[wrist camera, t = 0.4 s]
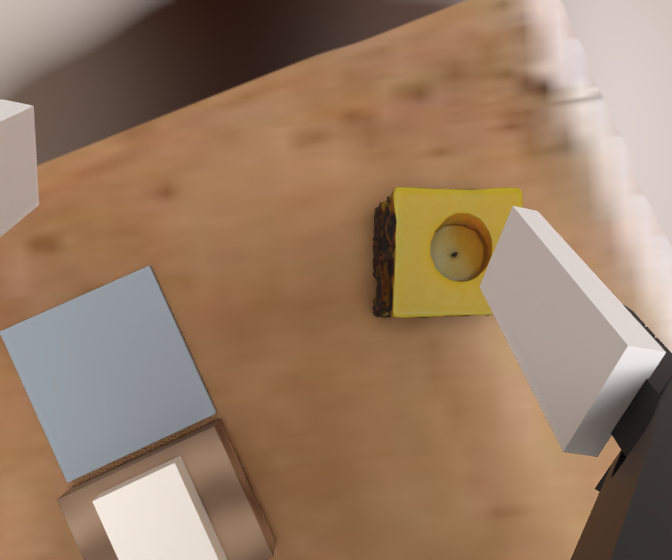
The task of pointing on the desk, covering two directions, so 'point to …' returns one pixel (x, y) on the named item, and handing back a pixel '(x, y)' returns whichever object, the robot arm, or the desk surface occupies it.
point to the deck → (210, 483)
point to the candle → (437, 249)
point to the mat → (108, 373)
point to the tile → (158, 517)
